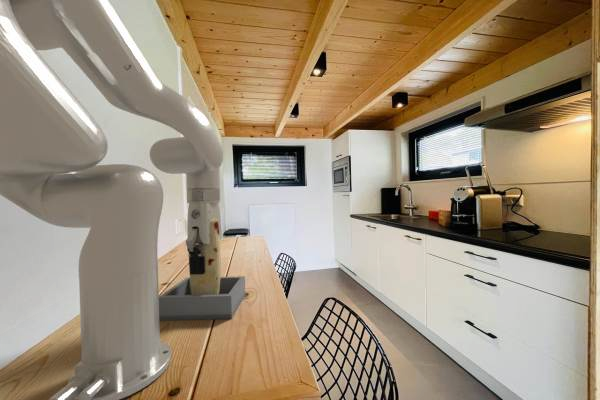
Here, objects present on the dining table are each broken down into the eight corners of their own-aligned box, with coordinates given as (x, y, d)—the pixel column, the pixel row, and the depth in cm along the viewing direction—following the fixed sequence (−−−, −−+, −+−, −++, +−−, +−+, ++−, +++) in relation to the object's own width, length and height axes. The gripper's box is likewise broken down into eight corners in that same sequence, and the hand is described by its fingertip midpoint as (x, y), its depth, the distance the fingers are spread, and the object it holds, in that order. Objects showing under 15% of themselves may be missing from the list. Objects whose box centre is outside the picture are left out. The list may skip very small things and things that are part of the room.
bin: (231, 318, 52) (231, 295, 52) (158, 320, 52) (157, 297, 52) (245, 294, 65) (244, 276, 65) (186, 295, 65) (186, 277, 65)
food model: (228, 298, 57) (226, 215, 57) (200, 307, 52) (198, 217, 52) (210, 288, 64) (208, 213, 64) (184, 295, 59) (182, 215, 59)
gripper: (205, 196, 49) (206, 280, 49) (229, 197, 67) (231, 258, 67) (168, 197, 49) (170, 280, 49) (202, 197, 67) (204, 259, 67)
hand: (205, 267), depth 58 cm, fingers closed on food model, 8 cm apart
